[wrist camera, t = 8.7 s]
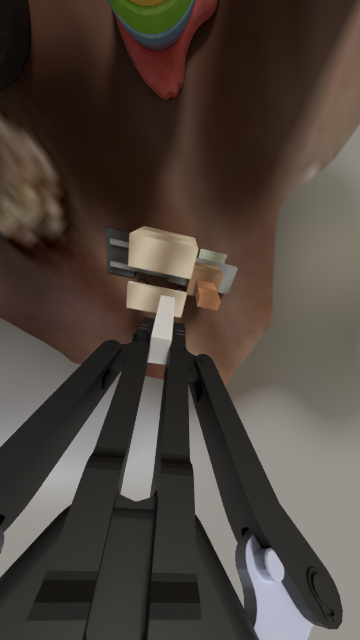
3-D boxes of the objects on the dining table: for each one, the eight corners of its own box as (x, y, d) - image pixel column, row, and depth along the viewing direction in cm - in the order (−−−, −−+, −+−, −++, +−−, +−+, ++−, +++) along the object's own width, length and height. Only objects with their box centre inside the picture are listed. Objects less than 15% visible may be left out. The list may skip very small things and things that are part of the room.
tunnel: (108, 279, 35) (86, 300, 27) (106, 217, 29) (78, 221, 21) (211, 300, 37) (218, 325, 29) (229, 246, 31) (244, 259, 23)
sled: (167, 279, 33) (160, 311, 23) (172, 252, 31) (166, 275, 20) (226, 291, 35) (243, 327, 24) (236, 266, 32) (260, 295, 22)
